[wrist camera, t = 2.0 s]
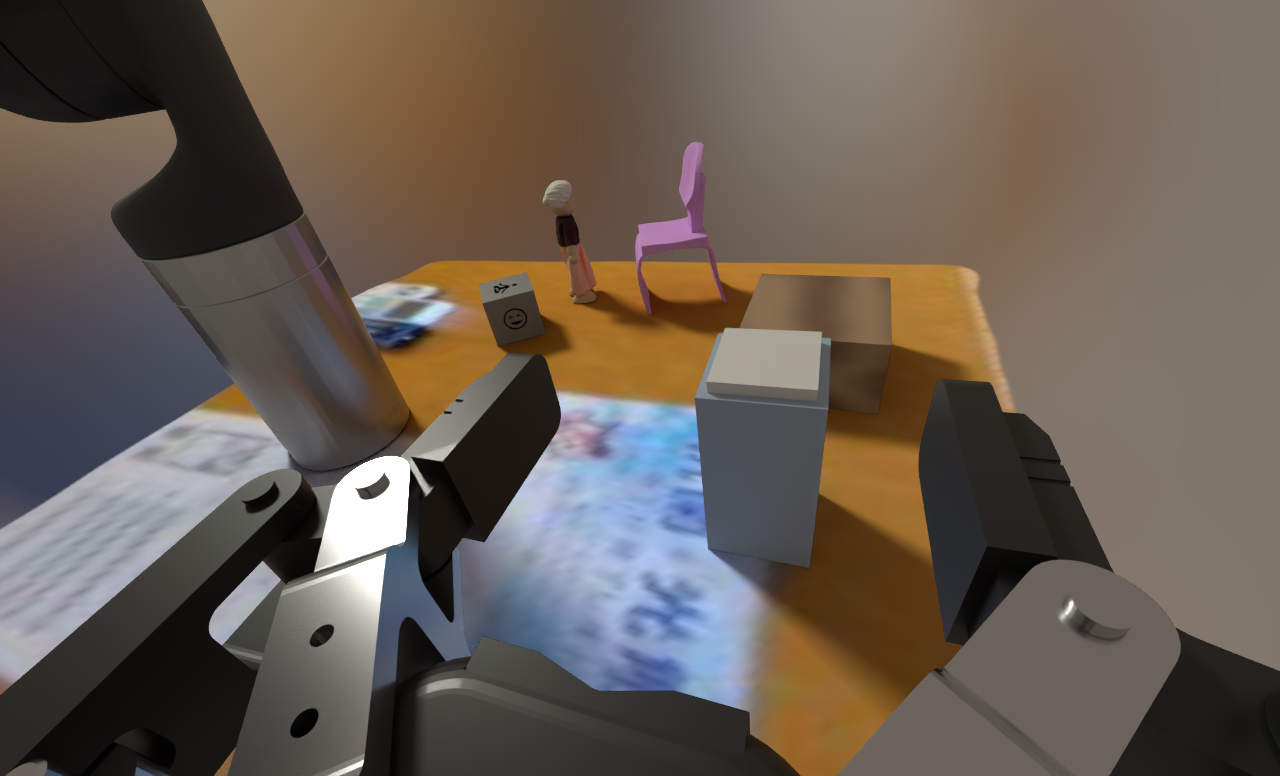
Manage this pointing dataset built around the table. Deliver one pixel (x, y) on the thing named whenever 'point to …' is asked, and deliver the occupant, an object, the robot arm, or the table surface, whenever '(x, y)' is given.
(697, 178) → the toy chair
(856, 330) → the walnut block
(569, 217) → the grandmother figurine
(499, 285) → the dice cube
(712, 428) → the slate-blue canister
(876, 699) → the table surface
